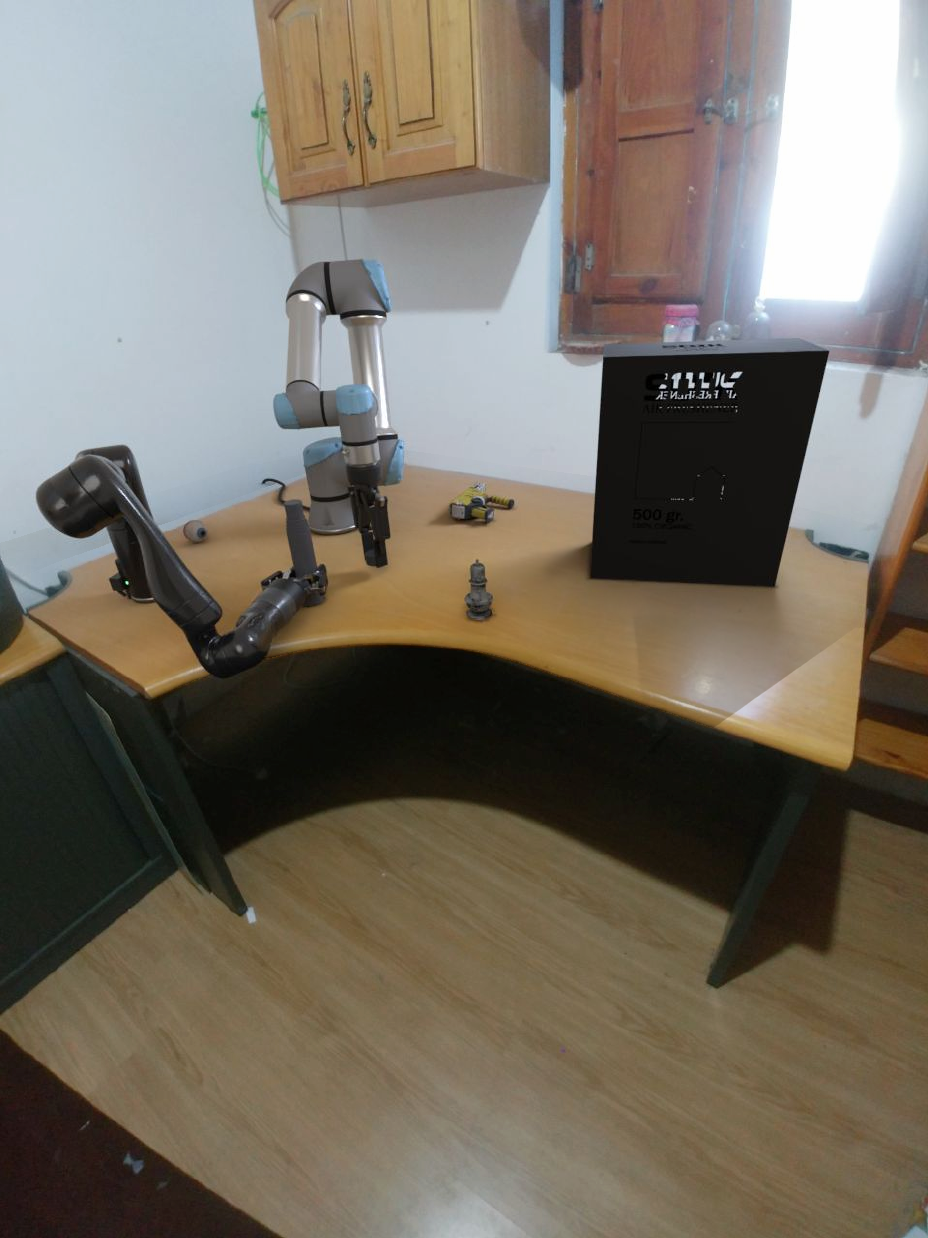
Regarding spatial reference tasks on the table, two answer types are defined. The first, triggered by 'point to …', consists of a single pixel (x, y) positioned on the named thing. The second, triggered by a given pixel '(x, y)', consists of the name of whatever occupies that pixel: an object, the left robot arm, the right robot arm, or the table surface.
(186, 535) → the eyeball
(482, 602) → the grey chess piece
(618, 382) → the cardboard box
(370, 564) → the cap
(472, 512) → the toy gun
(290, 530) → the bottle
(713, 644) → the table surface
